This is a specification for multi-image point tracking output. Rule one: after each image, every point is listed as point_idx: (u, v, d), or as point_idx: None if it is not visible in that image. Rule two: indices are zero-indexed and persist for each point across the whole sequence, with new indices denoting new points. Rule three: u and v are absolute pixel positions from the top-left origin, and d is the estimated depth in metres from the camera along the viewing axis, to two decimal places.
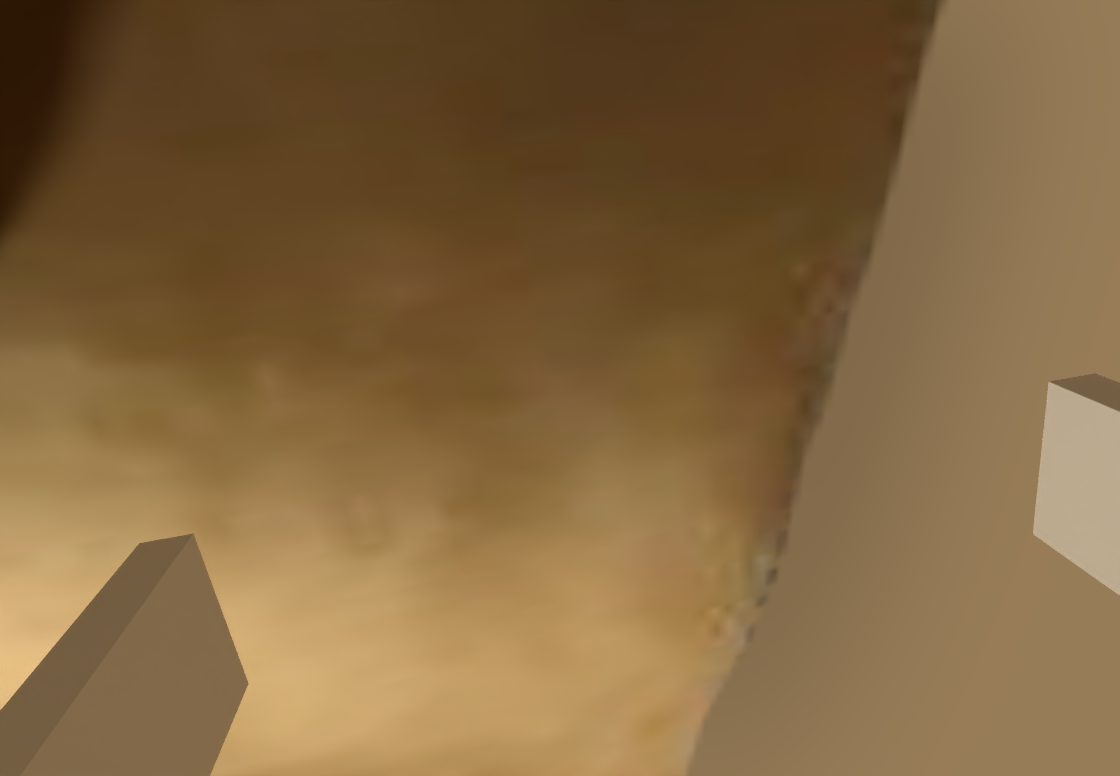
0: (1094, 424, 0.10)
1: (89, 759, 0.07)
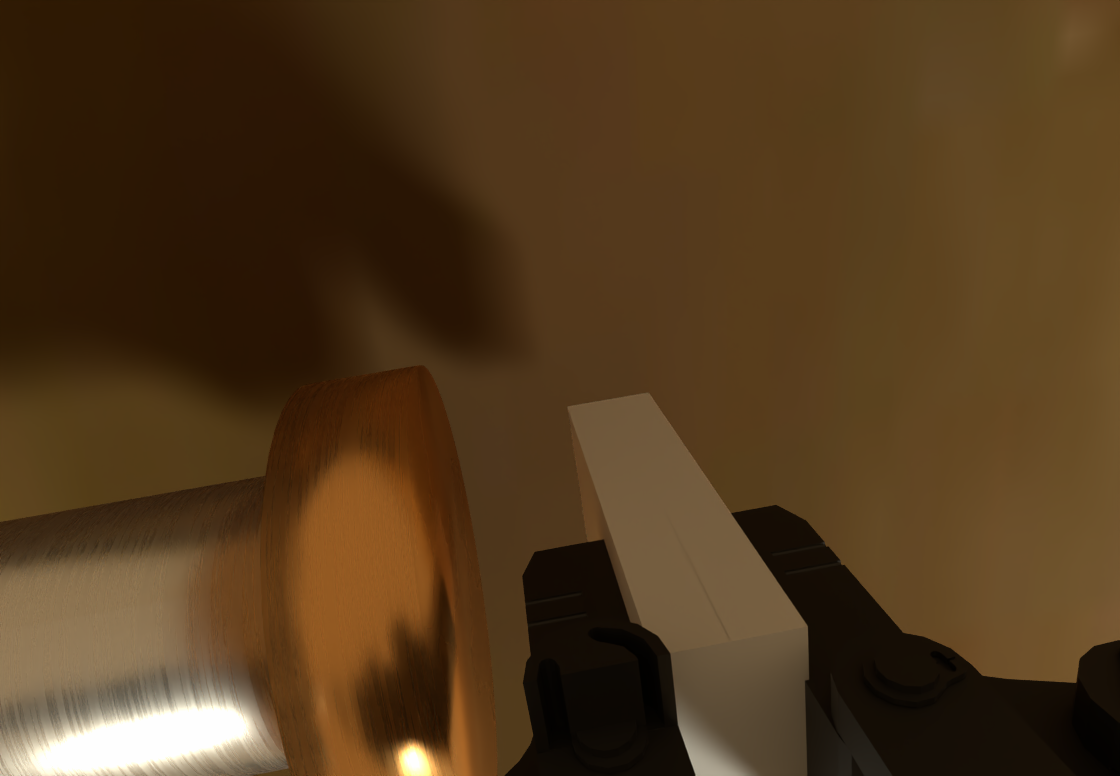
0: None
1: None
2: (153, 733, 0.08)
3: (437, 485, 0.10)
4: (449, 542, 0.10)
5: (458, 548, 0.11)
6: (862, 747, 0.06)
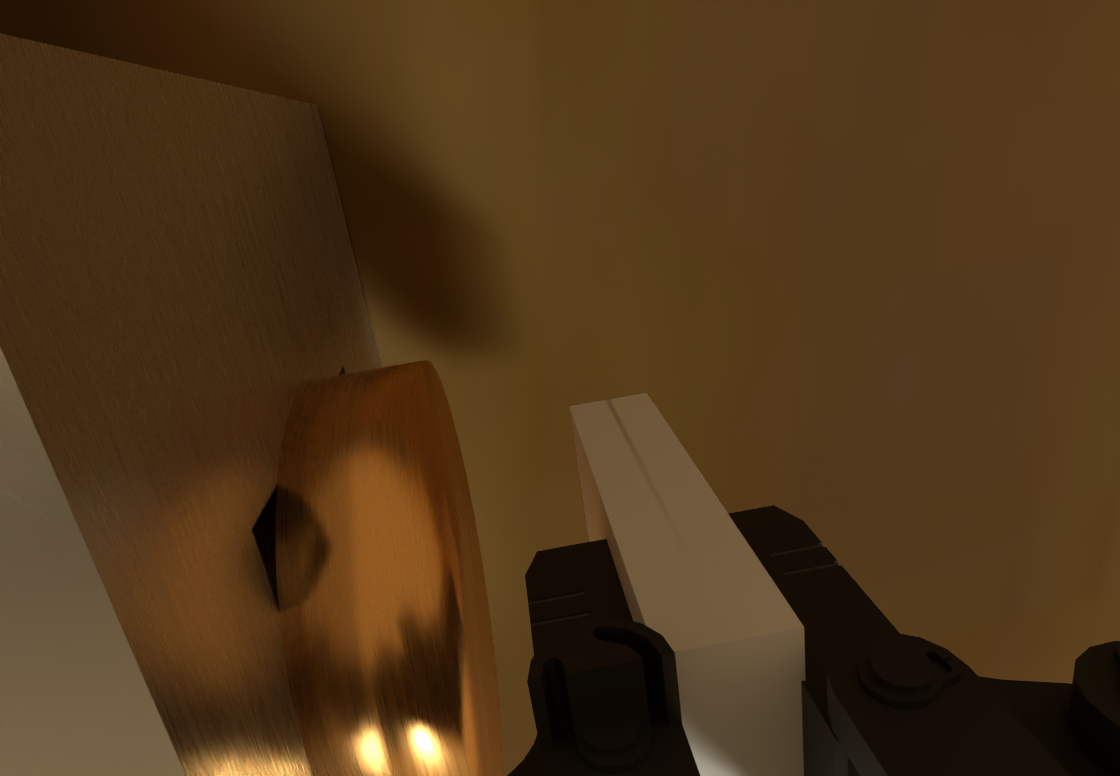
0: None
1: None
2: None
3: (444, 477, 0.10)
4: (455, 533, 0.10)
5: (463, 540, 0.11)
6: (859, 749, 0.06)
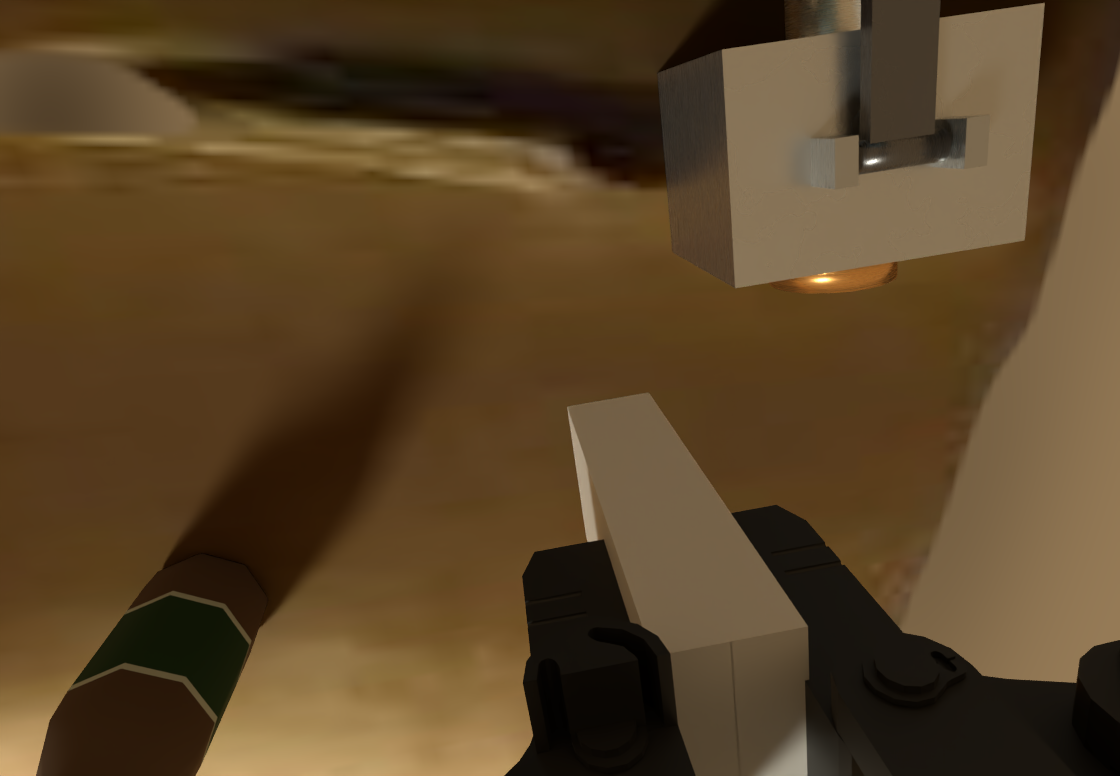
0: None
1: None
2: None
3: None
4: None
5: None
6: (863, 747, 0.06)
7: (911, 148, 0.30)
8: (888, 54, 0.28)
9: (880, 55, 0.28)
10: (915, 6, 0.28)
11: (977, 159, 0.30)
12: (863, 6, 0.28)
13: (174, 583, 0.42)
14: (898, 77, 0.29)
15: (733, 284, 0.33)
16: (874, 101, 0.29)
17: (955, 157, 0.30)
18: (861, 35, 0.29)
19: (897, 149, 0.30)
